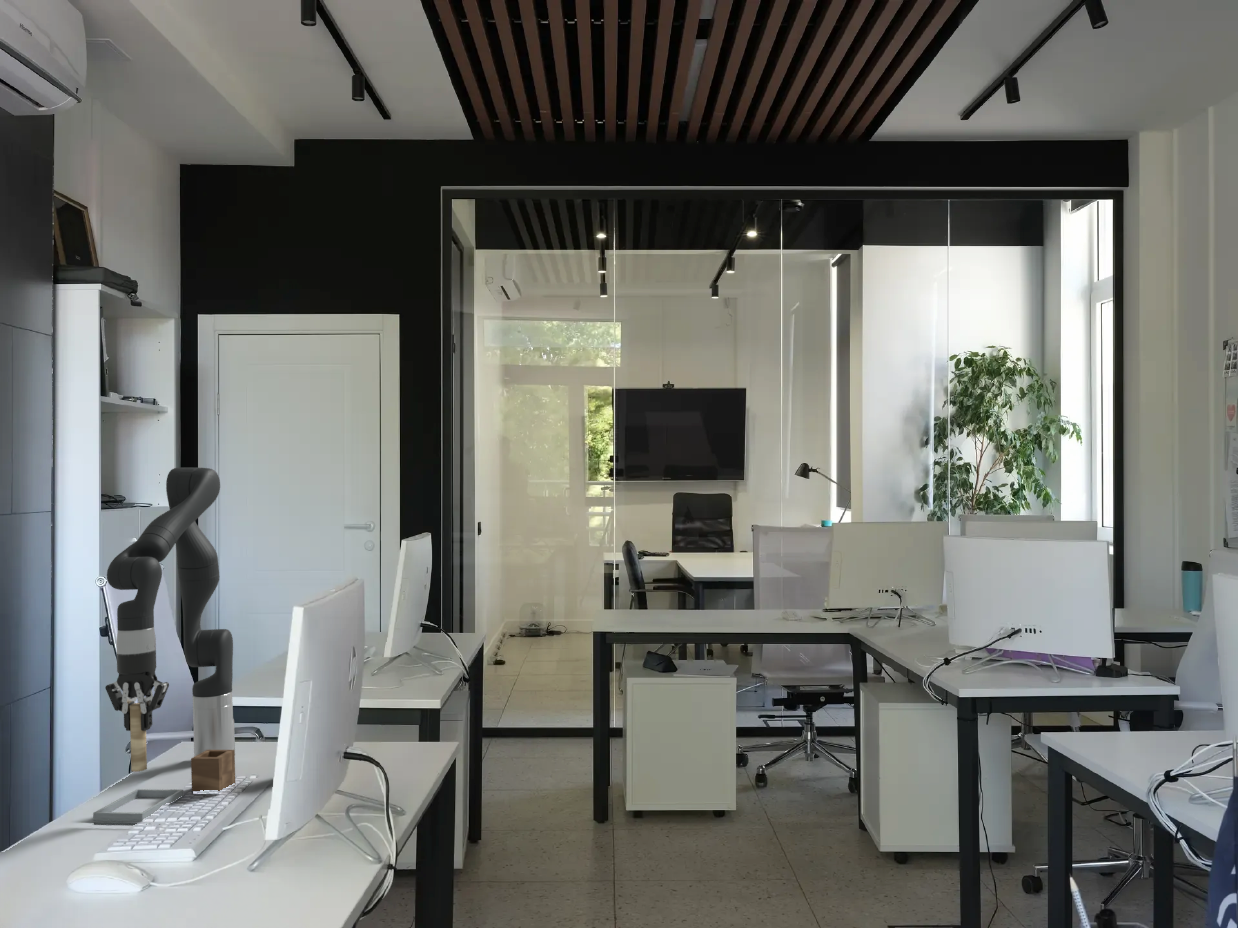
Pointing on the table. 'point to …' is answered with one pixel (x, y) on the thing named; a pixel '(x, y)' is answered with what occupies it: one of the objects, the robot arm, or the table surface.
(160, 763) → the table surface
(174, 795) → the grey tray
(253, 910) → the table surface
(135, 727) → the birch dowel
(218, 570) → the robot arm
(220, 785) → the walnut holder
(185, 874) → the table surface
